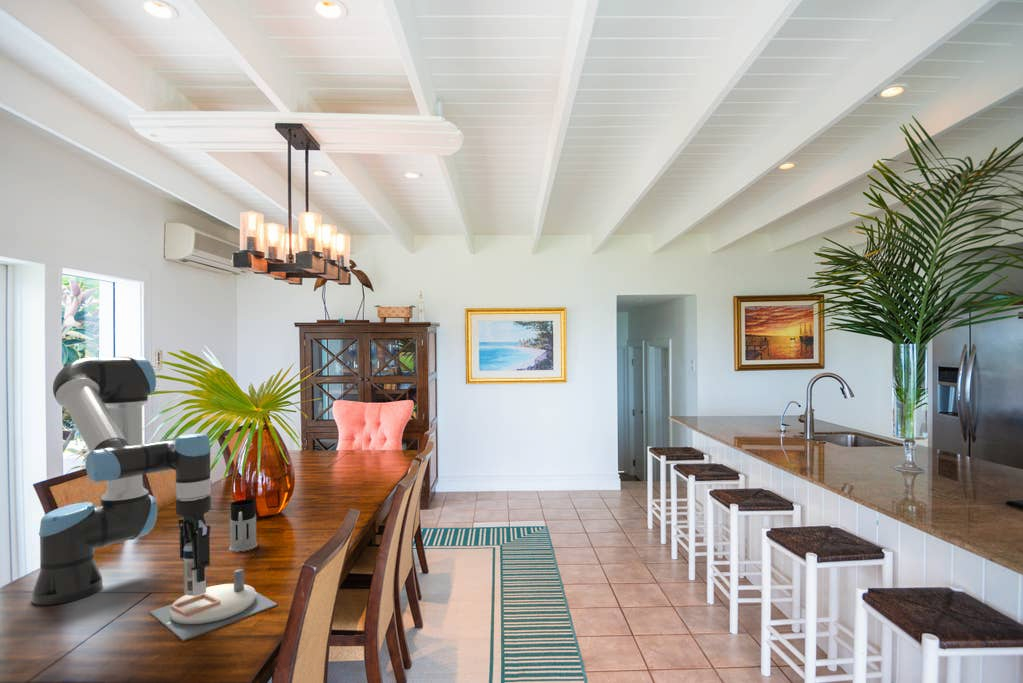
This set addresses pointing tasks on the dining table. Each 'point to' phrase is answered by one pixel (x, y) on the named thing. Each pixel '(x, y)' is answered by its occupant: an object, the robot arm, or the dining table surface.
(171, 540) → the dining table surface
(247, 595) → the turntable
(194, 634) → the plate
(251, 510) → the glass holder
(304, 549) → the dining table surface
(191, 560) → the blue and white canister
